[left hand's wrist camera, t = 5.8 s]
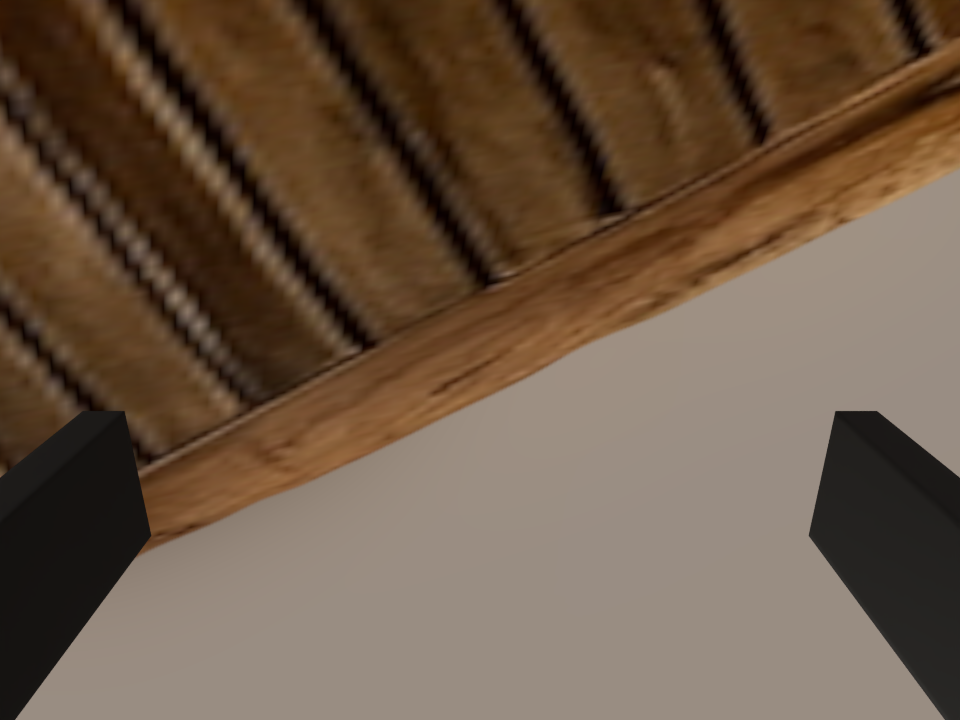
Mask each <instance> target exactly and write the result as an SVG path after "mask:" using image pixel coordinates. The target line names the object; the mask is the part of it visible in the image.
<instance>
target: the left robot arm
mask: <svg viewBox="0 0 960 720" xmlns="http://www.w3.org/2000/svg"><path fill="white" fill-rule="evenodd" d="M150 537H151V532H150V527H149V523H148V518H147V513H146V509H145V504H144V500H143V495H142V490H141V486H140V481H139V476H138V472H137V467H136V462H135V458H134V453H133V448H132V444H131V439H130V435H129V430H128V425H127V421H126V416H125V411H83V412H81V413H80V414H79V415H78V416H76V417H75V418H74V419H73V420H71V421H70V422H69V423H68V424H66V425H65V426H64V427H63V428H61V429H60V430H59V431H58V432H56V433H55V434H54V435H53V436H51V437H50V438H49V439H48V440H47V441H45V442H44V443H43V444H42V445H40V446H39V447H38V448H37V449H35V450H34V451H33V452H32V453H30V454H29V455H28V456H27V457H25V458H24V459H23V460H22V461H20V462H19V463H18V464H17V465H15V466H14V467H13V468H12V469H10V470H9V471H8V472H7V473H6V474H4V475H3V476H2V477H1V478H0V720H15V719H16V718H17V716H18V715H19V714H20V712H21V711H22V710H23V708H24V707H25V706H26V704H27V703H28V702H29V700H30V699H31V697H32V696H33V695H34V693H35V692H36V691H37V689H38V688H39V687H40V685H41V684H42V683H43V681H44V680H45V679H46V677H47V676H48V674H49V673H50V672H51V670H52V669H53V668H54V666H55V665H56V664H57V662H58V661H59V660H60V658H61V657H62V656H63V654H64V653H65V651H66V650H67V649H68V647H69V646H70V645H71V643H72V642H73V641H74V639H75V638H76V637H77V635H78V634H79V633H80V631H81V630H82V628H83V627H84V626H85V625H86V623H87V622H88V620H89V619H90V618H91V616H92V615H93V614H94V612H95V611H96V610H97V608H98V607H99V606H100V604H101V603H102V602H103V600H104V599H105V597H106V596H107V595H108V593H109V592H110V591H111V589H112V588H113V587H114V585H115V584H116V583H117V581H118V580H119V579H120V577H121V576H122V575H123V573H124V572H125V570H126V569H127V568H128V566H129V565H130V564H131V562H132V561H133V560H134V558H135V557H136V556H137V554H138V553H139V552H140V550H141V549H142V547H143V546H144V545H145V543H146V542H147V541H148V539H149V538H150ZM809 537H810V538H811V539H812V541H813V542H814V543H815V545H816V546H817V547H818V549H819V550H820V552H821V553H822V554H823V555H824V557H825V558H826V560H827V561H828V562H829V564H830V565H831V566H832V568H833V569H834V570H835V572H836V573H837V574H838V576H839V577H840V578H841V580H842V581H843V583H844V584H845V585H846V587H847V588H848V589H849V591H850V592H851V593H852V595H853V596H854V597H855V599H856V600H857V602H858V603H859V604H860V606H861V607H862V608H863V610H864V611H865V612H866V614H867V615H868V616H869V618H870V619H871V620H872V622H873V623H874V624H875V626H876V627H877V629H878V630H879V631H880V633H881V634H882V635H883V637H884V638H885V639H886V641H887V642H888V643H889V645H890V646H891V647H892V649H893V650H894V652H895V653H896V654H897V656H898V657H899V658H900V660H901V661H902V662H903V664H904V665H905V666H906V668H907V669H908V670H909V672H910V673H911V674H912V676H913V677H914V679H915V680H916V681H917V683H918V684H919V685H920V687H921V688H922V689H923V691H924V692H925V693H926V695H927V696H928V697H929V699H930V700H931V702H932V703H933V704H934V705H935V707H936V708H937V710H938V711H939V712H940V714H941V715H942V716H943V718H944V719H945V720H960V478H959V477H958V476H957V475H956V474H954V473H953V472H952V471H951V470H949V469H948V468H947V467H946V466H945V465H943V464H942V463H941V462H940V461H938V460H937V459H936V458H935V457H933V456H932V455H931V454H930V453H928V452H927V451H926V450H925V449H923V448H922V447H921V446H920V445H918V444H917V443H916V442H915V441H913V440H912V439H911V438H910V437H908V436H907V435H906V434H905V433H904V432H902V431H901V430H900V429H899V428H897V427H896V426H895V425H894V424H892V423H891V422H890V421H889V420H887V419H886V418H885V417H884V416H882V415H881V414H880V413H879V412H877V411H836V412H835V416H834V421H833V425H832V430H831V435H830V439H829V444H828V448H827V453H826V458H825V462H824V467H823V472H822V476H821V481H820V486H819V490H818V495H817V500H816V504H815V509H814V513H813V518H812V523H811V527H810V532H809Z"/></svg>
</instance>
